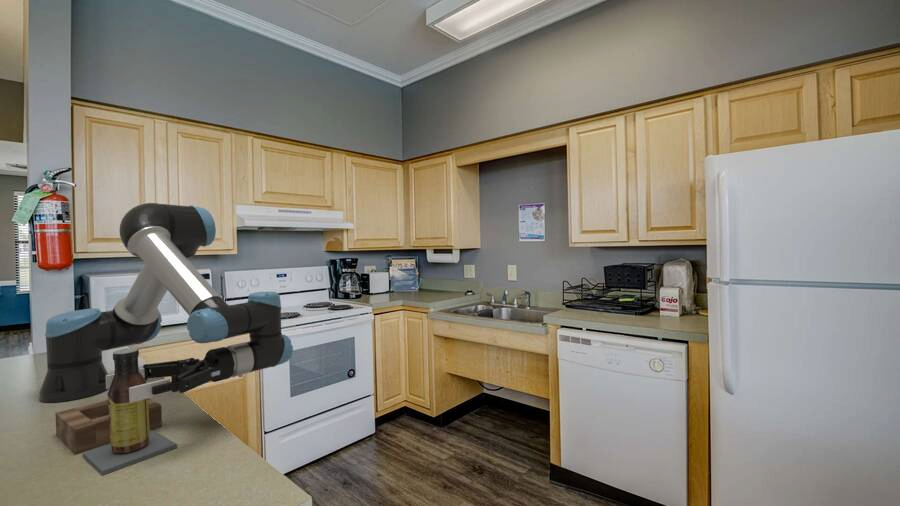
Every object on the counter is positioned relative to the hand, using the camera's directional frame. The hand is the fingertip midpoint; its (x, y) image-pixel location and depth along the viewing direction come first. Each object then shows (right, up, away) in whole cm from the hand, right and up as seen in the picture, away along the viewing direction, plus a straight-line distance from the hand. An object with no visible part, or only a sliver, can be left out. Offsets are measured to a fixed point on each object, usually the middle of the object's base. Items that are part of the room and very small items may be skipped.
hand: (117, 388), depth 81 cm
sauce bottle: (+1, -13, +2) cm, 13 cm away
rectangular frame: (-11, -13, +12) cm, 21 cm away
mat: (+1, -13, +2) cm, 14 cm away
